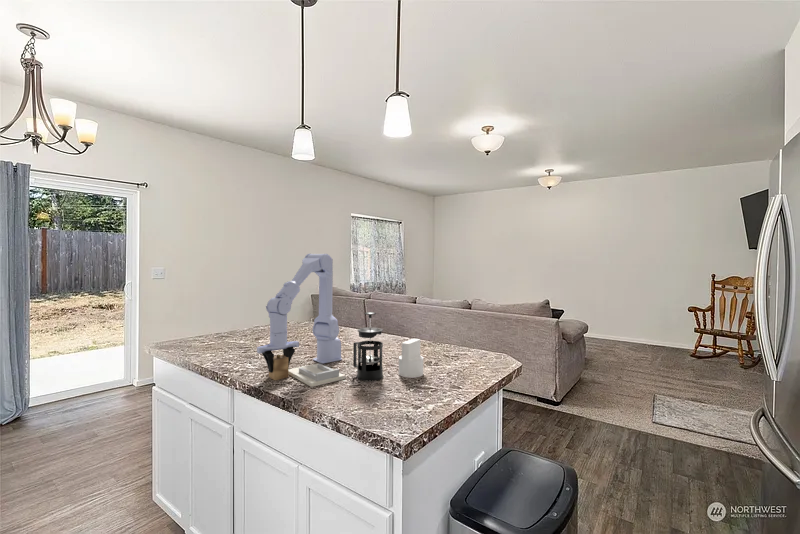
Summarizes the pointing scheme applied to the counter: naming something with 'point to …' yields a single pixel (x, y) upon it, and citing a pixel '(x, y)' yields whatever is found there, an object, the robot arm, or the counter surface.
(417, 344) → the cylinder with rectangular tab
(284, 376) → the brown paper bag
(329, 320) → the robot arm
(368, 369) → the french press
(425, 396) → the counter surface
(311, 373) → the shallow rectangular tray
